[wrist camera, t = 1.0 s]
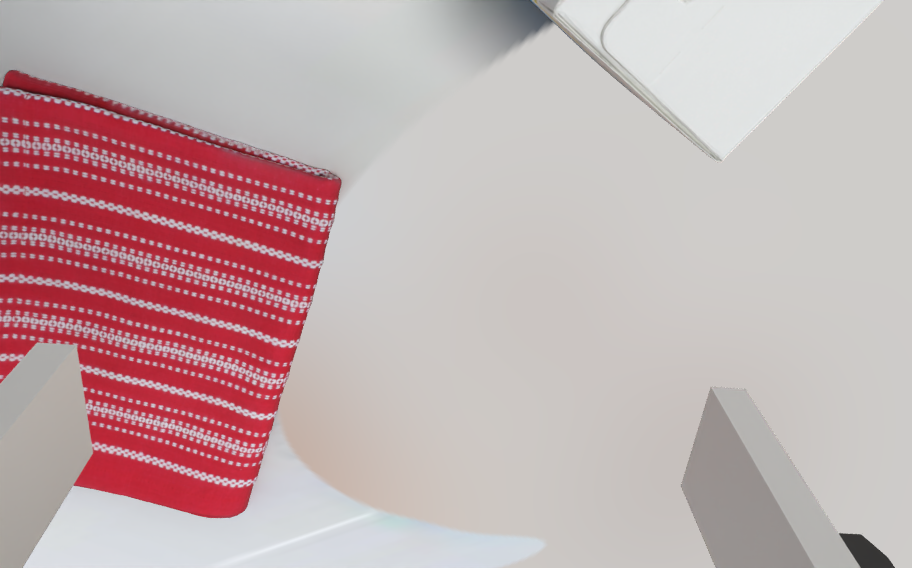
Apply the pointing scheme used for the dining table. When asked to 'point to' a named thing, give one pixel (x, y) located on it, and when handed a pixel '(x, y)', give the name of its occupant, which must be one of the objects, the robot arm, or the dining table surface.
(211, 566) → the dining table surface
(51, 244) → the dish towel
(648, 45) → the ink box
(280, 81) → the dining table surface
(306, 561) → the dining table surface
